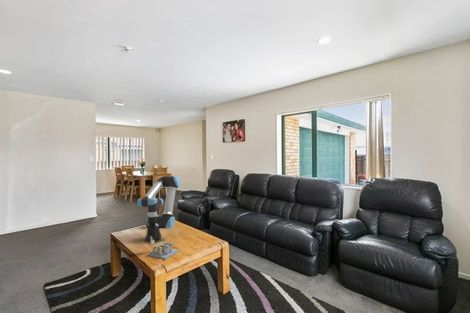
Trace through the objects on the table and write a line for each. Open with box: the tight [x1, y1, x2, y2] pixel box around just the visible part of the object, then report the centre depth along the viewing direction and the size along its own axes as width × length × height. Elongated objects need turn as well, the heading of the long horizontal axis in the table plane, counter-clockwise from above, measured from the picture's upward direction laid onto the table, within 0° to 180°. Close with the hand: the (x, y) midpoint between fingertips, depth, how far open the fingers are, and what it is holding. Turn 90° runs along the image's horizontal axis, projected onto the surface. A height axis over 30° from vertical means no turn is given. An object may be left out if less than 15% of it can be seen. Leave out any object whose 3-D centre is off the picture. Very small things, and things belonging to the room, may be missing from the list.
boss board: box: [148, 241, 180, 260], centre depth 194 cm, size 18×16×8 cm
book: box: [157, 203, 165, 216], centre depth 269 cm, size 16×6×25 cm, turn 148°
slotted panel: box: [152, 241, 170, 255], centre depth 195 cm, size 9×10×6 cm
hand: (152, 243), depth 198 cm, fingers closed
